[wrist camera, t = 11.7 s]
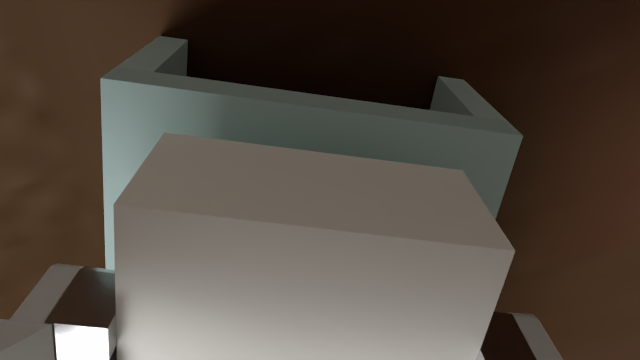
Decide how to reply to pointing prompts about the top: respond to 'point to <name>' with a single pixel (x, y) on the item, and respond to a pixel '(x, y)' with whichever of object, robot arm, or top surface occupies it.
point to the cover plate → (301, 257)
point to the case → (293, 124)
